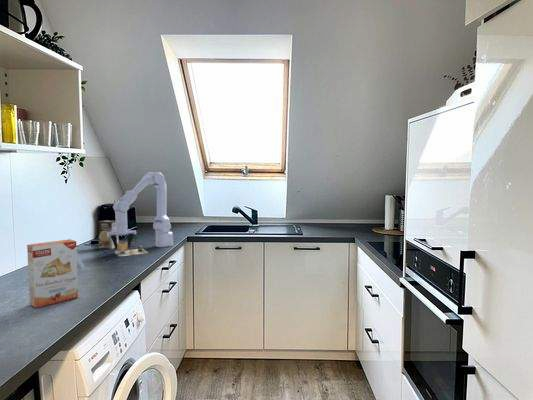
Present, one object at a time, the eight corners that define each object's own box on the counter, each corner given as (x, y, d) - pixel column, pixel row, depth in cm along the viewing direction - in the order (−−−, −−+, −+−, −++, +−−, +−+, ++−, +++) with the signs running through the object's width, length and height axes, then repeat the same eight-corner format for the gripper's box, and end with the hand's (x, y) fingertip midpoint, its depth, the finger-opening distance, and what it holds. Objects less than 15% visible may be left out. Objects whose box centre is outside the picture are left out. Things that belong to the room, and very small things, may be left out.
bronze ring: (127, 248, 202) (126, 241, 202) (129, 250, 198) (128, 243, 197) (115, 250, 199) (115, 242, 199) (117, 252, 195) (117, 244, 194)
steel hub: (124, 252, 200) (123, 245, 200) (124, 253, 198) (124, 246, 198) (120, 253, 199) (120, 246, 199) (121, 253, 197) (120, 246, 197)
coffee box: (98, 249, 213) (97, 221, 212) (106, 247, 219) (105, 219, 218) (112, 250, 210) (111, 222, 209) (119, 247, 217) (118, 220, 215)
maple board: (142, 250, 210) (142, 248, 210) (148, 254, 199) (148, 252, 199) (114, 253, 203) (114, 251, 203) (119, 258, 192) (118, 256, 192)
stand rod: (141, 250, 205) (141, 245, 204) (142, 251, 203) (142, 245, 203) (137, 251, 204) (137, 245, 203) (138, 251, 202) (138, 246, 202)
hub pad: (128, 251, 204) (128, 250, 204) (131, 253, 197) (131, 253, 197) (114, 252, 200) (114, 252, 200) (116, 255, 194) (116, 255, 194)
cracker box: (35, 309, 123) (31, 246, 121) (29, 304, 127) (25, 244, 125) (79, 298, 134) (76, 240, 132) (72, 294, 138) (70, 238, 136)
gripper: (108, 225, 190) (109, 251, 191) (137, 223, 198) (138, 248, 199) (105, 223, 196) (106, 249, 197) (134, 221, 204) (135, 246, 205)
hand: (122, 248), depth 198 cm, fingers closed on bronze ring, 6 cm apart
